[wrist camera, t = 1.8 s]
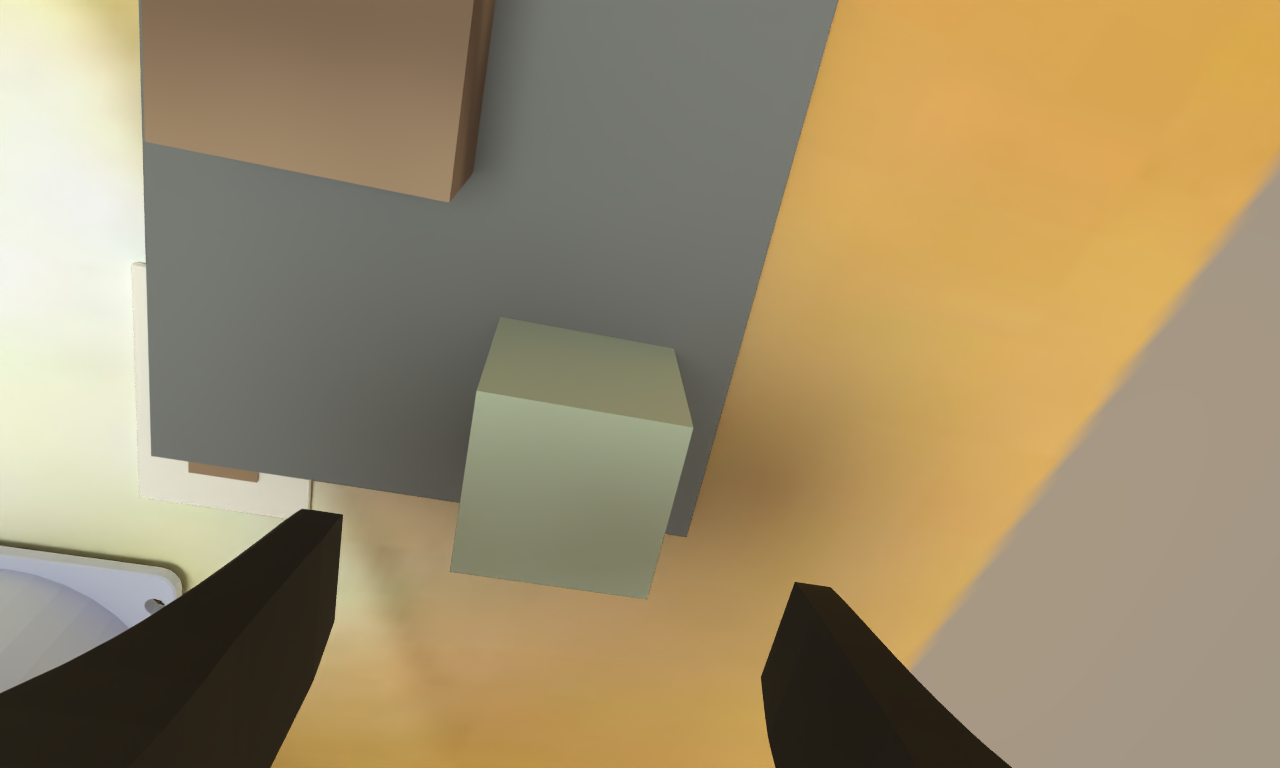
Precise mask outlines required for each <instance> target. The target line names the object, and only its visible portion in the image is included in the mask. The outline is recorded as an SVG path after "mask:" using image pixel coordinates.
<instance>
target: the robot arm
mask: <svg viewBox="0 0 1280 768" xmlns="http://www.w3.org/2000/svg"><path fill="white" fill-rule="evenodd" d="M342 521H343V515H342V514H335V513H328V512H322V511H315V510H308V509H300V510H299V511H297V512H296V513H294V514H293V515H291V516H290V517H289V518H287V519H286V520H285V521H283V522H282V523H281V524H280V525H278V526H277V527H276V528H274V529H273V530H272V531H270V532H269V533H268V534H267V535H265V536H264V537H263V538H261V539H260V540H259V541H257V542H256V543H255V544H253V545H252V546H251V547H249V548H248V549H247V550H245V551H244V552H243V553H241V554H240V555H239V556H237V557H236V558H235V559H233V560H232V561H231V562H229V563H228V564H226V565H225V566H224V567H222V568H221V569H219V570H218V571H217V572H215V573H214V574H212V575H211V576H209V577H208V578H207V579H205V580H204V581H202V582H201V583H200V584H198V585H197V586H195V587H194V588H192V589H191V590H189V591H188V592H186V593H185V594H183V595H182V584H181V580H180V579H179V577H178V576H177V575H176V574H175V573H174V572H172V571H171V570H169V569H165V568H162V567H155V566H147V565H140V564H133V563H125V562H118V561H110V560H103V559H95V558H88V557H81V556H73V555H66V554H58V553H51V552H43V551H36V550H29V549H21V548H14V547H6V546H0V768H270V767H271V765H272V763H273V761H274V759H275V757H276V755H277V753H278V751H279V749H280V747H281V745H282V743H283V741H284V739H285V737H286V735H287V733H288V731H289V729H290V727H291V725H292V723H293V721H294V719H295V717H296V715H297V713H298V711H299V709H300V707H301V705H302V703H303V701H304V699H305V697H306V695H307V693H308V691H309V689H310V686H311V684H312V682H313V680H314V677H315V674H316V672H317V669H318V666H319V663H320V661H321V658H322V655H323V652H324V649H325V647H326V644H327V641H328V638H329V635H330V632H331V629H332V626H333V623H334V620H335V607H336V595H337V583H338V570H339V558H340V546H341V533H342ZM153 599H157V600H160V601H162V602H163V603H164V604H165V605H161V604H158V603H156V602H155V601H154V600H153ZM761 682H762V692H763V701H764V711H765V718H766V725H767V733H768V739H769V743H770V747H771V751H772V756H773V760H774V764H775V768H1012V767H1011V766H1009V765H1008V764H1007V763H1006V762H1005V761H1003V760H1002V759H1001V758H1000V757H999V756H997V755H996V754H995V753H994V752H993V751H991V750H990V749H989V748H988V747H987V746H986V745H984V744H983V743H982V742H981V741H980V740H979V739H978V738H977V737H976V736H974V735H973V734H972V733H971V732H970V731H969V730H968V729H967V728H966V727H965V726H964V725H963V724H962V723H960V721H958V720H957V719H956V718H955V717H954V716H953V715H952V714H951V713H950V712H949V711H948V710H947V709H946V708H945V707H944V706H943V705H942V704H941V703H940V702H939V701H938V700H937V699H936V698H935V697H934V696H932V694H931V693H930V692H929V691H928V690H927V689H926V688H925V687H924V686H923V685H922V684H921V683H920V682H919V681H918V680H917V679H916V678H915V677H914V676H913V675H912V674H911V673H910V672H909V671H908V670H907V669H906V667H905V666H904V665H903V664H902V663H901V662H900V661H899V660H898V659H897V658H896V657H895V656H894V655H893V654H892V652H891V651H890V650H889V649H888V648H887V647H886V646H885V645H884V644H883V643H882V642H881V641H880V639H879V638H878V637H877V636H876V635H875V634H874V633H873V632H872V631H871V630H870V628H869V627H868V626H867V625H866V624H865V623H864V622H863V621H862V620H861V619H860V618H859V616H858V615H857V614H856V613H855V612H854V611H853V610H852V609H851V608H850V607H849V606H848V605H847V603H846V602H845V601H844V600H843V599H842V598H841V597H840V596H839V595H838V594H837V593H836V592H835V591H834V590H833V589H832V588H831V587H825V586H818V585H812V584H805V583H798V582H795V583H794V586H793V589H792V592H791V594H790V597H789V600H788V603H787V606H786V608H785V611H784V614H783V617H782V620H781V622H780V625H779V628H778V631H777V634H776V637H775V639H774V642H773V645H772V648H771V651H770V653H769V656H768V659H767V662H766V665H765V667H764V670H763V673H762V676H761Z"/></svg>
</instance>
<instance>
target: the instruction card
mask: <svg viewBox="0 0 1280 768" xmlns="http://www.w3.org/2000/svg"><path fill="white" fill-rule="evenodd" d="M131 273H132V302H133V331H134V360H135V389H136V417H137V446H138V475H139V497H140V498H147V499H154V500H160V501H167V502H174V503H181V504H188V505H195V506H202V507H209V508H216V509H223V510H229V511H236V512H243V513H250V514H257V515H264V516H271V517H278V518H285V519H287V518H289V517H290V516H291V515H293V514H294V513H296V512H297V511H299V510H300V509H308V510H310V499H311V483H312V480H306V479H299V478H293V477H286V476H280V475H273V474H266V473H260V472H253V471H247V470H240V469H234V468H227V467H220V466H214V465H207V464H201V463H194V462H187V461H181V460H174V459H168V458H161V457H154V456H151V431H150V395H149V358H148V321H147V285H146V264H143V263H138V262H135V263H133V264H132V265H131Z"/></svg>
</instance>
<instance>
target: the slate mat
mask: <svg viewBox="0 0 1280 768" xmlns="http://www.w3.org/2000/svg"><path fill="white" fill-rule="evenodd" d="M837 3H838V0H496V1H495V9H494V16H493V24H492V31H491V39H490V47H489V54H488V62H487V70H486V77H485V85H484V93H483V100H482V108H481V116H480V123H479V131H478V138H477V146H476V154H475V161H474V169H473V174H472V175H471V177H470V178H469V179H468V180H467V181H466V183H465V184H464V185H463V186H462V188H461V189H460V190H459V191H458V193H457V194H456V195H455V196H454V197H453V199H452V200H451V201H450V202H444V201H439V200H434V199H429V198H424V197H419V196H414V195H409V194H404V193H399V192H394V191H389V190H384V189H379V188H374V187H369V186H364V185H359V184H354V183H349V182H344V181H339V180H334V179H329V178H324V177H319V176H314V175H309V174H304V173H299V172H294V171H289V170H284V169H279V168H274V167H269V166H264V165H259V164H254V163H249V162H244V161H239V160H234V159H229V158H224V157H219V156H214V155H209V154H204V153H199V152H194V151H189V150H184V149H179V148H174V147H169V146H164V145H159V144H154V143H149V142H145V126H144V87H143V49H142V11H141V0H139V28H140V65H141V102H142V138H143V175H144V212H145V248H146V285H147V321H148V358H149V395H150V431H151V456H154V457H161V458H168V459H174V460H181V461H187V462H194V463H201V464H207V465H214V466H220V467H227V468H234V469H240V470H247V471H253V472H260V473H266V474H273V475H280V476H286V477H293V478H299V479H306V480H313V481H319V482H326V483H332V484H339V485H346V486H352V487H359V488H365V489H372V490H379V491H385V492H392V493H398V494H405V495H411V496H418V497H425V498H431V499H438V500H444V501H451V502H458V503H460V499H461V493H462V486H463V479H464V472H465V466H466V459H467V452H468V445H469V439H470V432H471V425H472V418H473V412H474V405H475V398H476V391H477V388H478V385H479V382H480V379H481V375H482V372H483V369H484V366H485V363H486V360H487V357H488V354H489V350H490V347H491V344H492V341H493V338H494V335H495V332H496V329H497V325H498V322H499V319H500V317H504V318H510V319H515V320H521V321H526V322H532V323H537V324H543V325H548V326H553V327H559V328H564V329H570V330H575V331H581V332H586V333H592V334H597V335H603V336H608V337H613V338H619V339H624V340H630V341H635V342H641V343H646V344H652V345H657V346H663V347H668V348H673V349H674V351H675V355H676V359H677V363H678V367H679V371H680V375H681V379H682V383H683V387H684V391H685V395H686V399H687V403H688V408H689V412H690V416H691V420H692V424H693V431H692V435H691V439H690V443H689V446H688V450H687V454H686V457H685V461H684V465H683V469H682V472H681V476H680V480H679V483H678V487H677V491H676V494H675V498H674V502H673V506H672V509H671V513H670V517H669V520H668V524H667V528H666V532H665V534H669V535H675V536H682V537H687V533H688V530H689V526H690V523H691V519H692V516H693V512H694V509H695V505H696V502H697V498H698V494H699V491H700V487H701V484H702V480H703V477H704V473H705V470H706V466H707V463H708V459H709V456H710V452H711V448H712V445H713V441H714V438H715V434H716V431H717V427H718V424H719V420H720V417H721V413H722V410H723V406H724V402H725V399H726V395H727V392H728V388H729V385H730V381H731V378H732V374H733V371H734V367H735V364H736V360H737V357H738V353H739V349H740V346H741V342H742V339H743V335H744V332H745V328H746V325H747V321H748V318H749V314H750V311H751V307H752V303H753V300H754V296H755V293H756V289H757V286H758V282H759V279H760V275H761V272H762V268H763V265H764V261H765V257H766V254H767V250H768V247H769V243H770V240H771V236H772V233H773V229H774V226H775V222H776V219H777V215H778V212H779V208H780V204H781V201H782V197H783V194H784V190H785V187H786V183H787V180H788V176H789V173H790V169H791V166H792V162H793V158H794V155H795V151H796V148H797V144H798V141H799V137H800V134H801V130H802V127H803V123H804V120H805V116H806V112H807V109H808V105H809V102H810V98H811V95H812V91H813V88H814V84H815V81H816V77H817V74H818V70H819V66H820V63H821V59H822V56H823V52H824V49H825V45H826V42H827V38H828V35H829V31H830V28H831V24H832V21H833V17H834V13H835V10H836V6H837Z"/></svg>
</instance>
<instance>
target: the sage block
mask: <svg viewBox="0 0 1280 768" xmlns="http://www.w3.org/2000/svg"><path fill="white" fill-rule="evenodd" d="M692 431H693V424H692V420H691V416H690V412H689V408H688V403H687V399H686V395H685V391H684V387H683V383H682V379H681V375H680V371H679V367H678V363H677V359H676V355H675V351H674V349H673V348H668V347H663V346H657V345H652V344H646V343H641V342H635V341H630V340H624V339H619V338H613V337H608V336H603V335H597V334H592V333H586V332H581V331H575V330H570V329H564V328H559V327H553V326H548V325H543V324H537V323H532V322H526V321H521V320H515V319H510V318H504V317H500V319H499V322H498V325H497V329H496V332H495V335H494V338H493V341H492V344H491V347H490V350H489V354H488V357H487V360H486V363H485V366H484V369H483V372H482V375H481V379H480V382H479V385H478V388H477V391H476V398H475V405H474V412H473V418H472V425H471V432H470V439H469V445H468V452H467V459H466V466H465V472H464V479H463V486H462V493H461V499H460V506H459V513H458V520H457V526H456V533H455V540H454V547H453V553H452V560H451V567H450V572H455V573H462V574H469V575H476V576H483V577H490V578H498V579H505V580H512V581H519V582H526V583H533V584H540V585H547V586H555V587H562V588H569V589H576V590H583V591H590V592H597V593H605V594H612V595H619V596H626V597H633V598H640V599H647V598H648V595H649V591H650V587H651V583H652V580H653V576H654V572H655V569H656V565H657V561H658V557H659V554H660V550H661V546H662V543H663V539H664V535H665V532H666V528H667V524H668V520H669V517H670V513H671V509H672V506H673V502H674V498H675V494H676V491H677V487H678V483H679V480H680V476H681V472H682V469H683V465H684V461H685V457H686V454H687V450H688V446H689V443H690V439H691V435H692Z"/></svg>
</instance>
